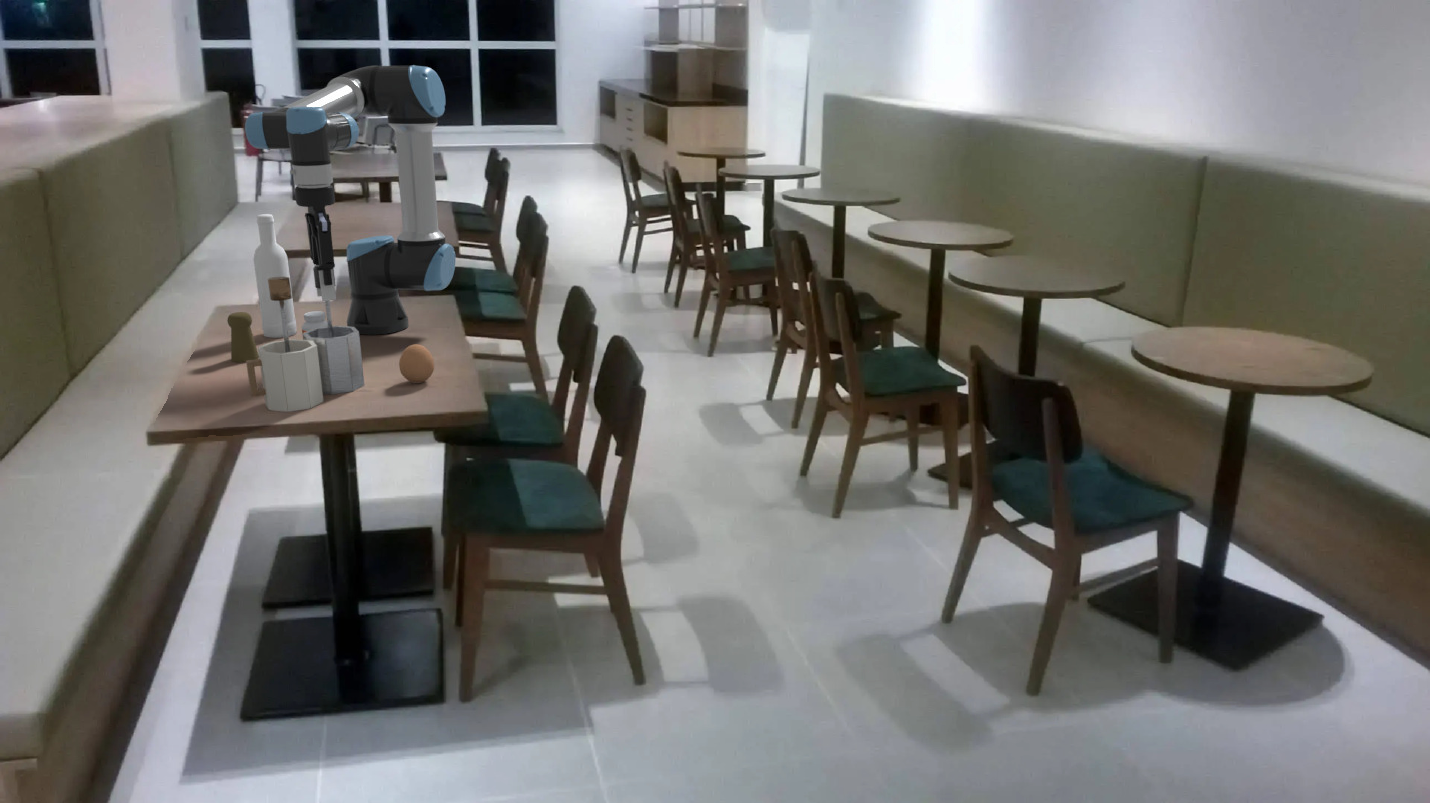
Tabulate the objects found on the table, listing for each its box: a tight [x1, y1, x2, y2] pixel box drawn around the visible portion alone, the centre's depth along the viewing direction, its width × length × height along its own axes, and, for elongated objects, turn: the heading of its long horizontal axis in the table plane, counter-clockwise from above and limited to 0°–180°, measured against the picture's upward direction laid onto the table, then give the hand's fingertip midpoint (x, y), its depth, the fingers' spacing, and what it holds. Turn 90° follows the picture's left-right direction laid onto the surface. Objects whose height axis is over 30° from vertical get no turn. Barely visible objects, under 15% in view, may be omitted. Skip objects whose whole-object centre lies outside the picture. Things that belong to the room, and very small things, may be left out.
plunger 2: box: [312, 266, 336, 338], centre depth 232 cm, size 7×7×18 cm
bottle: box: [253, 213, 297, 339], centre depth 273 cm, size 8×8×30 cm
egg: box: [398, 343, 435, 384], centre depth 238 cm, size 7×7×8 cm
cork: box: [226, 311, 259, 363], centre depth 255 cm, size 6×6×11 cm
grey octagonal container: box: [302, 325, 365, 395], centre depth 235 cm, size 13×11×12 cm
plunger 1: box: [268, 277, 293, 353], centre depth 221 cm, size 7×7×18 cm
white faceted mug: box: [245, 338, 324, 413], centre depth 224 cm, size 13×11×12 cm
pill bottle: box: [301, 310, 328, 334], centre depth 255 cm, size 6×6×11 cm
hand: (326, 297), depth 231 cm, fingers closed on plunger 2, 4 cm apart
